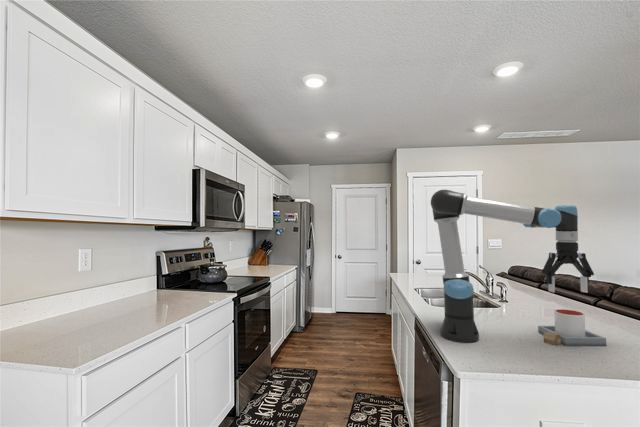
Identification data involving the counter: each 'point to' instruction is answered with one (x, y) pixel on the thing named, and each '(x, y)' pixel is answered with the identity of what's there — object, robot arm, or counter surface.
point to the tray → (577, 338)
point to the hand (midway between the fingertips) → (567, 292)
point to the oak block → (552, 338)
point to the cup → (569, 323)
